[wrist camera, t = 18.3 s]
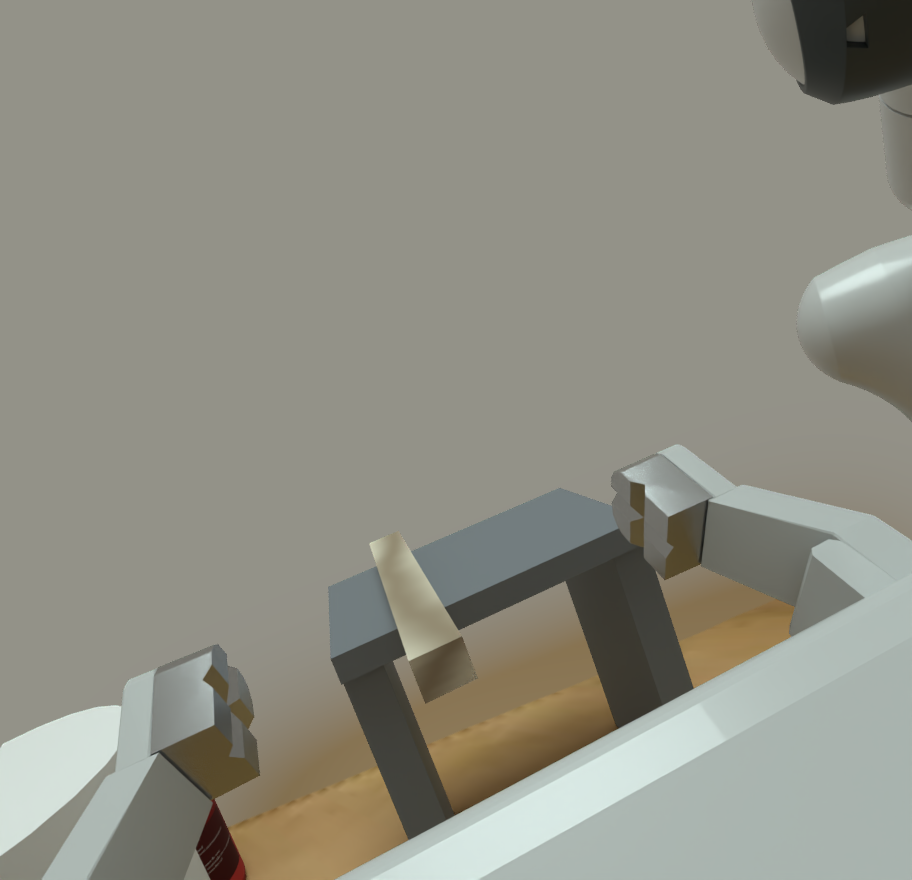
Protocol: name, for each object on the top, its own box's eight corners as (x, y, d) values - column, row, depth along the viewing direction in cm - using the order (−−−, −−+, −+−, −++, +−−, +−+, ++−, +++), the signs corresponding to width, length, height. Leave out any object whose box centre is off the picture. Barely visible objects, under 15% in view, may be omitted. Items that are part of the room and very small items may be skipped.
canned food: (177, 890, 60) (133, 801, 59) (251, 850, 62) (211, 763, 61) (159, 956, 53) (109, 857, 52) (244, 909, 55) (198, 812, 53)
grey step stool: (633, 705, 63) (558, 487, 60) (737, 805, 47) (644, 516, 44) (422, 815, 58) (328, 585, 55) (460, 968, 43) (330, 658, 39)
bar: (407, 554, 56) (398, 531, 55) (477, 678, 30) (461, 636, 30) (378, 567, 55) (369, 543, 55) (425, 703, 30) (408, 661, 29)
